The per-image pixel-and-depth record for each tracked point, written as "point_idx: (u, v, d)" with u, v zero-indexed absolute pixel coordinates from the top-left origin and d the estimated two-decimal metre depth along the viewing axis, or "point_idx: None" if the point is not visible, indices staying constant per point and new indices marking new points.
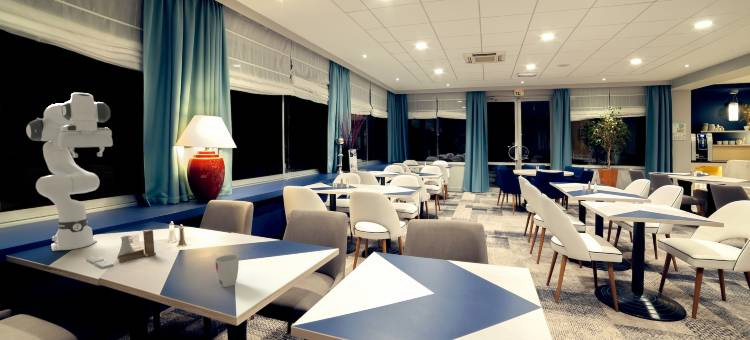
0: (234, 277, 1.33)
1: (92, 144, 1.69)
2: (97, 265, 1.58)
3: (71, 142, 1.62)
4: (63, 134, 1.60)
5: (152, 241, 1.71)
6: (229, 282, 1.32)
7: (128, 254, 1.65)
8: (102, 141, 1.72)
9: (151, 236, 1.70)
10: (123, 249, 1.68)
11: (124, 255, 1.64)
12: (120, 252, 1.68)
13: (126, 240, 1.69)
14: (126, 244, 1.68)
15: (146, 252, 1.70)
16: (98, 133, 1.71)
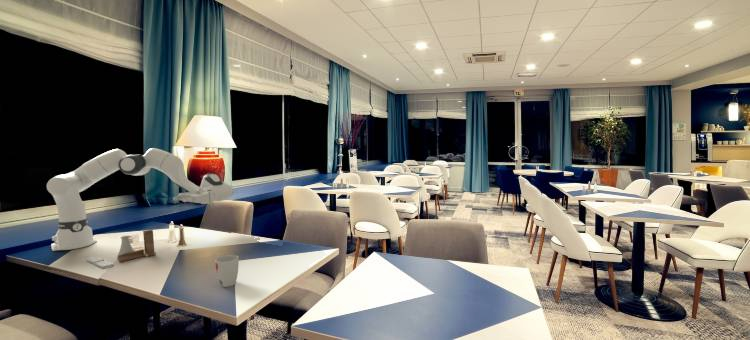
0: (234, 277, 1.33)
1: None
2: (97, 265, 1.58)
3: None
4: (207, 202, 1.85)
5: (152, 241, 1.71)
6: (229, 282, 1.32)
7: (128, 254, 1.65)
8: None
9: (151, 236, 1.70)
10: (123, 249, 1.68)
11: (124, 255, 1.64)
12: (120, 252, 1.68)
13: (126, 240, 1.69)
14: (126, 244, 1.68)
15: (146, 252, 1.70)
16: None
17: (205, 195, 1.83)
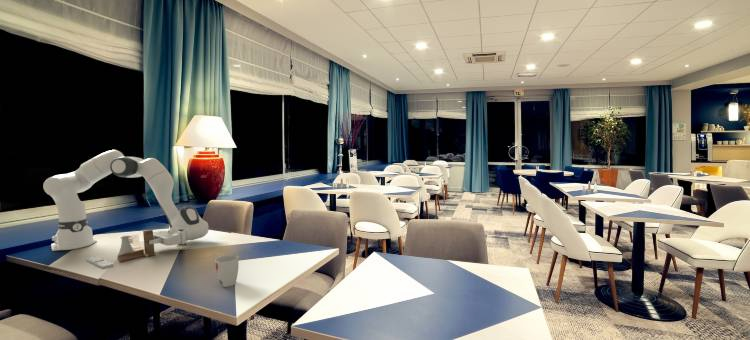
0: (234, 277, 1.33)
1: None
2: (97, 265, 1.58)
3: None
4: (178, 243, 1.74)
5: None
6: (229, 282, 1.32)
7: (128, 254, 1.65)
8: None
9: (151, 236, 1.70)
10: (123, 249, 1.68)
11: (124, 255, 1.64)
12: (120, 252, 1.68)
13: (126, 240, 1.69)
14: (126, 244, 1.68)
15: (146, 252, 1.70)
16: None
17: (176, 237, 1.72)
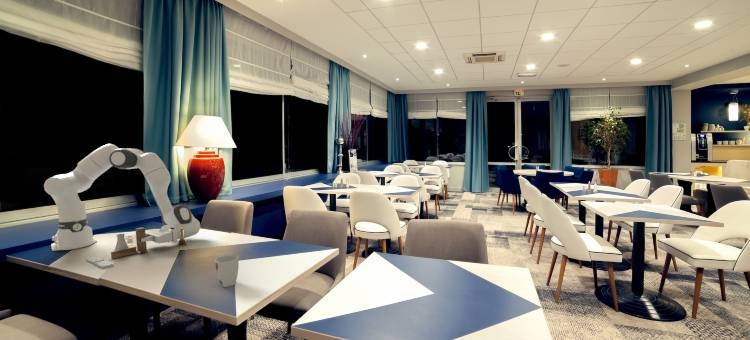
0: (234, 277, 1.33)
1: None
2: (97, 265, 1.58)
3: None
4: (170, 241, 1.79)
5: None
6: (229, 282, 1.32)
7: (121, 251, 1.70)
8: None
9: (143, 234, 1.75)
10: (118, 246, 1.72)
11: (117, 252, 1.69)
12: (115, 249, 1.72)
13: (121, 238, 1.73)
14: (120, 241, 1.73)
15: (138, 249, 1.75)
16: None
17: (167, 234, 1.77)
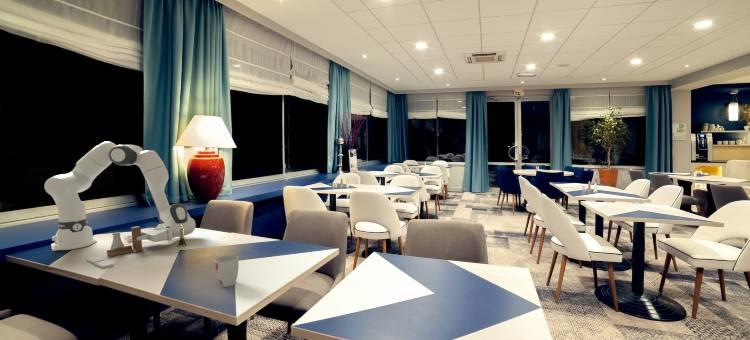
0: (234, 277, 1.33)
1: None
2: (97, 265, 1.58)
3: None
4: None
5: None
6: (229, 282, 1.32)
7: (116, 249, 1.73)
8: None
9: (139, 232, 1.78)
10: (113, 245, 1.75)
11: (112, 250, 1.71)
12: (111, 247, 1.75)
13: (117, 236, 1.76)
14: (116, 240, 1.76)
15: (134, 248, 1.78)
16: None
17: (162, 233, 1.79)
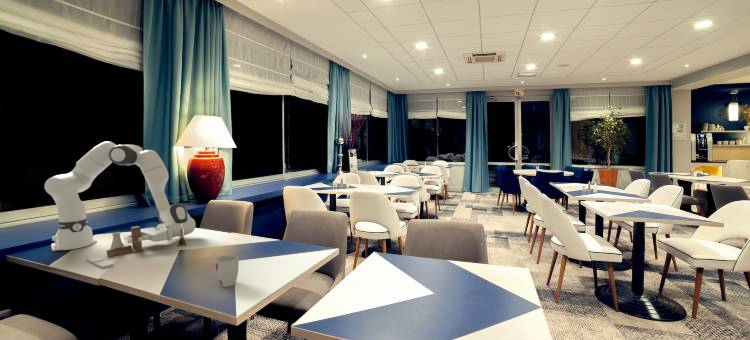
0: (234, 277, 1.33)
1: None
2: (97, 265, 1.58)
3: None
4: None
5: None
6: (229, 282, 1.32)
7: (116, 249, 1.73)
8: None
9: (139, 232, 1.78)
10: (113, 245, 1.75)
11: (112, 250, 1.72)
12: (111, 248, 1.75)
13: (116, 236, 1.76)
14: (116, 240, 1.76)
15: (134, 248, 1.78)
16: None
17: (162, 233, 1.80)
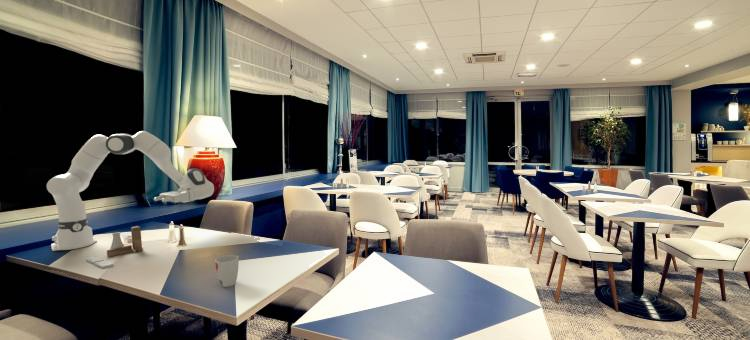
0: (234, 277, 1.33)
1: None
2: (97, 265, 1.58)
3: None
4: (187, 200, 1.91)
5: (140, 237, 1.79)
6: (229, 282, 1.32)
7: (116, 249, 1.73)
8: None
9: (139, 232, 1.78)
10: (113, 245, 1.75)
11: (112, 250, 1.72)
12: (111, 248, 1.75)
13: (116, 236, 1.76)
14: (116, 240, 1.76)
15: (134, 248, 1.78)
16: None
17: (184, 194, 1.88)
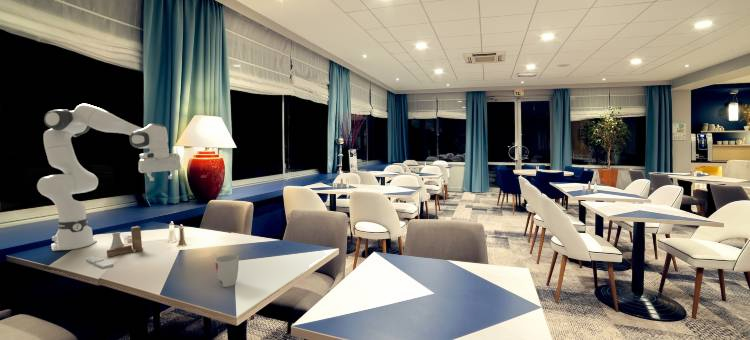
0: (234, 277, 1.33)
1: (165, 168, 1.92)
2: (97, 265, 1.58)
3: (149, 168, 1.86)
4: (143, 161, 1.83)
5: (140, 237, 1.79)
6: (229, 282, 1.32)
7: (116, 249, 1.73)
8: (173, 165, 1.95)
9: (139, 232, 1.78)
10: (113, 245, 1.75)
11: (112, 250, 1.72)
12: (111, 248, 1.75)
13: (116, 236, 1.76)
14: (116, 240, 1.76)
15: (134, 248, 1.78)
16: (169, 158, 1.94)
17: (138, 164, 1.84)
